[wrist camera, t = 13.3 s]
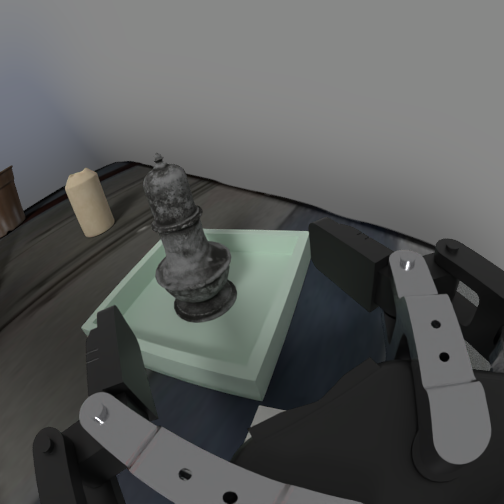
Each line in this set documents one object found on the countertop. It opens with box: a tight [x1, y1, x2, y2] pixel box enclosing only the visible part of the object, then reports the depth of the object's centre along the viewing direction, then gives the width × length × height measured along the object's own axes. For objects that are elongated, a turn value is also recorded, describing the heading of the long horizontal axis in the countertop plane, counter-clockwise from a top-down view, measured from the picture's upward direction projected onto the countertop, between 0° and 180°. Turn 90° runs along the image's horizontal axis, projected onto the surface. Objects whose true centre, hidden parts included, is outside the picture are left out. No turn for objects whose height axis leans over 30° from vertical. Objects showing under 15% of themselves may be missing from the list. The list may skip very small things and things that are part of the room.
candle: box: [65, 168, 115, 237], centre depth 39 cm, size 6×6×10 cm
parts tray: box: [81, 229, 311, 401], centre depth 23 cm, size 15×15×2 cm
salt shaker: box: [143, 153, 237, 323], centre depth 20 cm, size 6×6×12 cm
